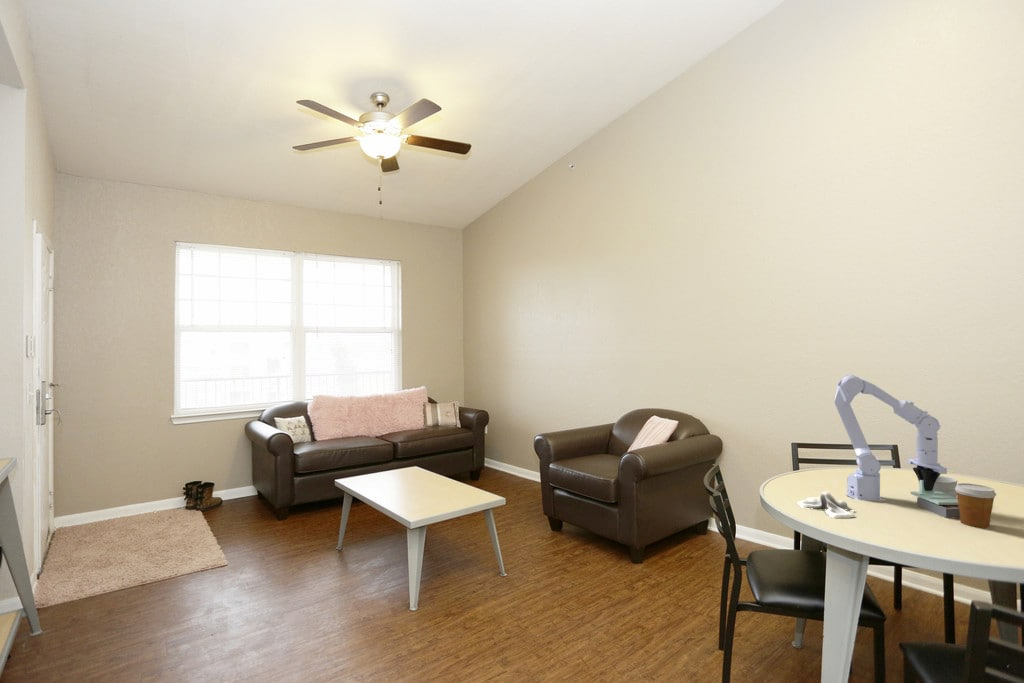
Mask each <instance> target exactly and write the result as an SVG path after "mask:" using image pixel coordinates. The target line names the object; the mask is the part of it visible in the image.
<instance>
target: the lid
mask: <svg viewBox="0 0 1024 683" xmlns="http://www.w3.org/2000/svg"><path fill="white" fill-rule="evenodd" d="M918 489H919V490H918V491H910V495H912V496H915V497H920V498H922V499H925V500H928V501H930V502H933V503H935V504H938V505H958V498H957V497H953V496H950V494H945V493H942V492H934V487H933V490H932V491H926V490H925V489H924V480H918Z"/></svg>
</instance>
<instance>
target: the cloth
mask: <svg viewBox="0 0 1024 683" xmlns="http://www.w3.org/2000/svg"><path fill="white" fill-rule="evenodd" d="M806 500H808V501H806ZM797 504H798V505H799V506H800V507H801V508H805V509H806V508H813V509H826V510H824V513H825V512H826V513H825V514H826V516H828V515H829V516H830V517H832V518H831V519H833V518H836V519H851V518H850V517H857V516H856V515H855V513H856V512H855V510H856V509H851V510H850V509H849V510H850V511H848V510H845V509H848V508H849V505H848V503H847V502H846V501H845V500H842V499H841V500H840V499H837V500H836V499H835V497H834V496H833V495H832V494H831V493H830V492H829V490H828V491H827V490H826V491H823V492H821V494H820V496H819V497H818V496H817V497H807V498H806V499H805V500H800V501H797ZM798 505H797V506H798ZM799 506H798V507H799ZM800 507H799V508H800ZM847 511H848V512H847ZM849 512H853V513H849ZM829 516H828V517H829ZM830 517H829V518H830Z"/></svg>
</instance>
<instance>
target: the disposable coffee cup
mask: <svg viewBox="0 0 1024 683" xmlns="http://www.w3.org/2000/svg"><path fill="white" fill-rule="evenodd" d="M955 490H956V492H957V498H958V505H959V512H960V518H959V519H960V523H961V524H962V525H965V526H968V527H972V528H977V529H989V527H990V522H991V517H992V513H993V512H992V511H993V506H994V499H995V498H996V496H997V493H996V492H995V489H994V488H992V487H990V486H988V485H987V486H986V485H982V484H976V483H969V482H968V483H967V482H965V483H964V482H960V483H958V482H957V485H956V487H955Z"/></svg>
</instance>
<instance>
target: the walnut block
mask: <svg viewBox="0 0 1024 683" xmlns="http://www.w3.org/2000/svg"><path fill="white" fill-rule="evenodd" d="M944 507H946V508H959V506H957V505H944Z"/></svg>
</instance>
